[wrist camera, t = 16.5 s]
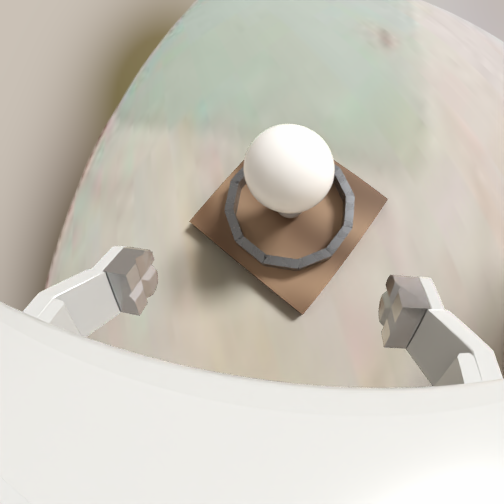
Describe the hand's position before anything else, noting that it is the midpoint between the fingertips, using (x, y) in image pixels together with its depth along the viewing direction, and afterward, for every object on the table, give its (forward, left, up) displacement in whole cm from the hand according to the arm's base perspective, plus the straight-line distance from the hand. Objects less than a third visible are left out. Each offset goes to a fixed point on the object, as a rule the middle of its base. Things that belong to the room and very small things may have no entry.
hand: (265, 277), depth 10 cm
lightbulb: (-7, -5, -17) cm, 19 cm away
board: (-7, -5, -18) cm, 20 cm away
